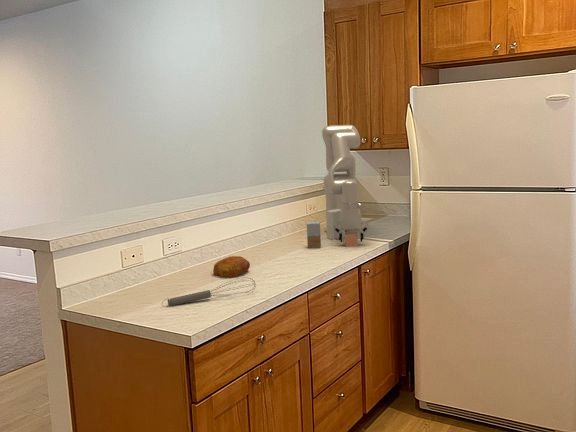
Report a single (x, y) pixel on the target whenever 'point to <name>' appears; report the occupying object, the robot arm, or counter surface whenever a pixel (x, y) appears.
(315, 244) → the walnut block
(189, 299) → the kitchen whisk
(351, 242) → the terracotta block
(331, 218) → the skincare box
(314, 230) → the slate block
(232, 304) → the counter surface
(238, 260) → the brown bread loaf
